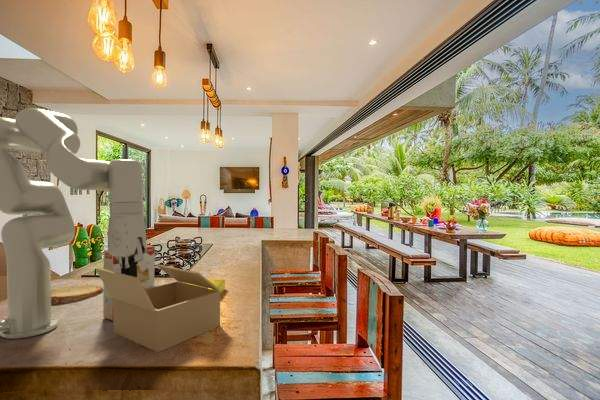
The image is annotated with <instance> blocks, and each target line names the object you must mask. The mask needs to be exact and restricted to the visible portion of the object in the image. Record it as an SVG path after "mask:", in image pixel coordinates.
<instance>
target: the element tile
mask: <svg viewBox="0 0 600 400" xmlns="http://www.w3.org/2000/svg"><path fill="white" fill-rule="evenodd" d="M206 279H207V280H209V281H210V282H211V283H212V284H214V285H215V286H216V287H217V288H219V291H220V296H222V295H223V293H224V292H225V290H226V280H225V278H206ZM187 284H188V283H187ZM191 285H192V284H191ZM195 286H196V285H195ZM200 287H201V286H200ZM204 288H205V287H204ZM208 289H209V288H208ZM212 290H213V289H212ZM216 291H218V290H216Z"/></svg>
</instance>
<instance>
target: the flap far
mask: <svg viewBox="0 0 600 400" xmlns="http://www.w3.org/2000/svg"><path fill="white" fill-rule="evenodd" d="M155 267H158V268H159V270H162V271H163V272H164V273H166V274H167V275H168V276H170V277H171V278H172V279H174V281H178V282H183V283H188V284H192V285H196V286H201V287H205V288H209V289H213V290H218V291H219V288H217V287H216V286H215V285H214V284H212V283H211V282H210V281H209V280H207V279H208V278H206V277H205V276H204V275H203V274H201V273H200V272H198V271H193V270H187V269H183V268H178V267H174V266H169V265H163V264H158V263H156V264H155Z"/></svg>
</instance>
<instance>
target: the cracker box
mask: <svg viewBox="0 0 600 400" xmlns="http://www.w3.org/2000/svg"><path fill="white" fill-rule="evenodd" d="M155 251H156V250H155V246H153V245H147V248H146V252H145V253H144V254H143V260H141V261H139V262H138V266H137V278H139V280H140V282H141V284H142V285H143V287H144V289H146V288H150V287H154V286H155V267H156V264H155V263H156V262H155V259H156V257H155V255H156V254H155ZM122 268H123V267H122ZM103 269H105V270H109V271H113V272H117V273H121V267H120V264H119V260H118V259H117V258H115V256H114V255H111V254H109V253H108V249H105V250H104V249H103ZM102 283H103V282H102ZM102 285H103V286H102V288H103V292H102V293H103V295H102V296H103V297H102V298H103V310H102V311H103V317H102V318H104V319H106V320H107V319H108V320H109V321H113V322H114V306H113V298H112V296H111V295H110V293H109V291H108V290H107V288H106V286H105V284H104V283H103V284H102Z"/></svg>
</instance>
